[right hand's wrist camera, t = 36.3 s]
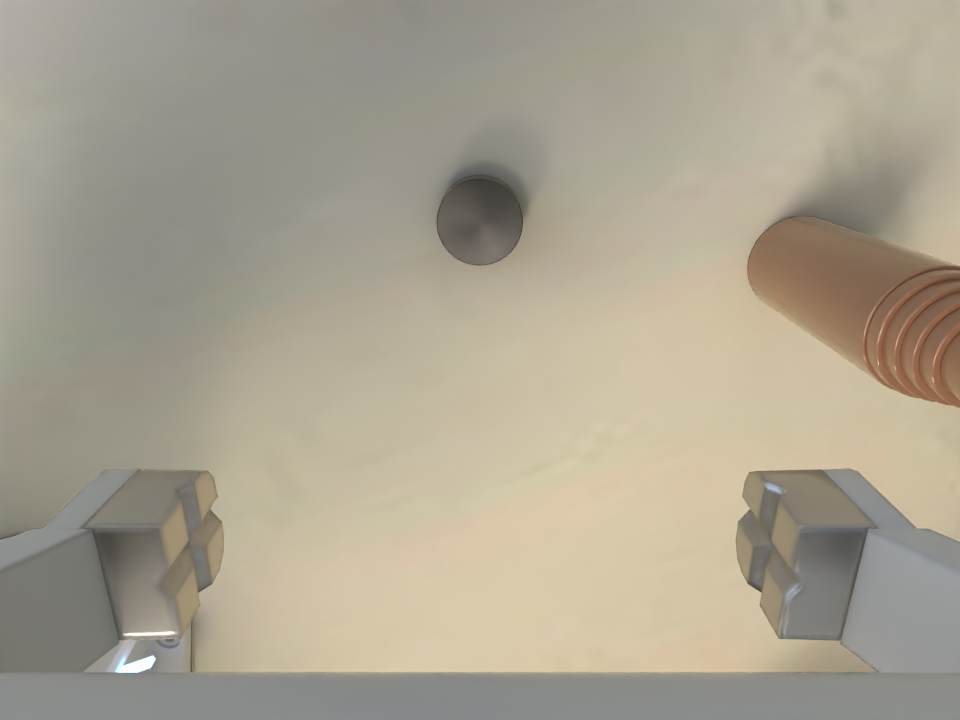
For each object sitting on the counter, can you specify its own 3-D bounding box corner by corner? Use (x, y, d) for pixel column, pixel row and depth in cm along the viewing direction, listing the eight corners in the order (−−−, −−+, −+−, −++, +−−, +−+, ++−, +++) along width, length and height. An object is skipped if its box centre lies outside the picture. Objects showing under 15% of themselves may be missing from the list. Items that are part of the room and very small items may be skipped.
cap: (423, 224, 38) (419, 230, 36) (472, 157, 37) (471, 160, 34) (486, 272, 39) (487, 281, 37) (536, 209, 38) (540, 215, 35)
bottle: (756, 214, 38) (996, 309, 20) (852, 217, 38) (1175, 314, 20) (739, 307, 40) (945, 467, 22) (831, 309, 40) (1108, 472, 22)
